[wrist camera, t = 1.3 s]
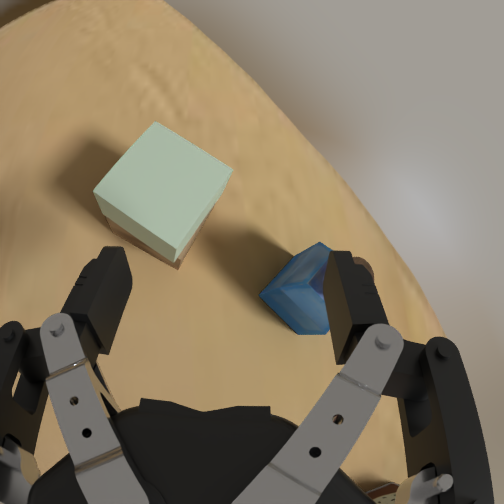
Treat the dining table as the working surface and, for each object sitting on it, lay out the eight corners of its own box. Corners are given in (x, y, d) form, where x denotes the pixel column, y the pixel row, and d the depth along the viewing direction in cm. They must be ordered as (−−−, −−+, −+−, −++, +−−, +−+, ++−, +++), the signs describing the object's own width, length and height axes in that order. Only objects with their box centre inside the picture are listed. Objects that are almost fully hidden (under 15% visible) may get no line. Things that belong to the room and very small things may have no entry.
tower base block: (112, 233, 31) (105, 216, 26) (151, 173, 34) (151, 150, 29) (178, 270, 32) (180, 260, 27) (213, 207, 35) (222, 188, 30)
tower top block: (102, 213, 26) (92, 191, 22) (154, 151, 29) (155, 121, 24) (173, 263, 27) (176, 249, 22) (221, 194, 30) (233, 169, 25)
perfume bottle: (298, 334, 34) (362, 333, 23) (258, 295, 34) (308, 276, 22) (330, 294, 36) (399, 276, 25) (294, 256, 36) (352, 222, 25)
